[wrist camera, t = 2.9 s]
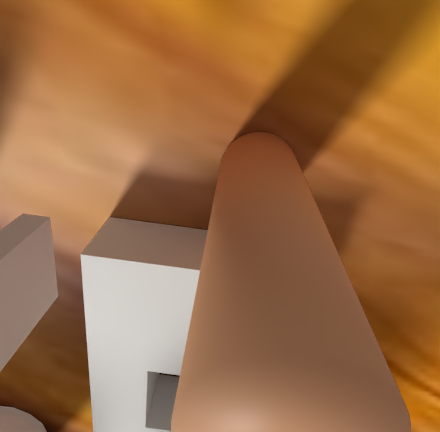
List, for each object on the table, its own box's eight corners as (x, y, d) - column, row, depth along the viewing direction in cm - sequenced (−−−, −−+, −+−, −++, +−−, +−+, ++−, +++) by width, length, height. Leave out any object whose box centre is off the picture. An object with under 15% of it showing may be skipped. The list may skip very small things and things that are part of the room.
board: (109, 217, 20) (80, 254, 17) (315, 244, 20) (330, 287, 17) (116, 470, 32) (100, 524, 28) (247, 488, 32) (247, 544, 28)
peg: (225, 126, 18) (178, 335, 5) (304, 137, 18) (451, 371, 5) (216, 199, 19) (165, 484, 7) (288, 208, 19) (368, 512, 7)
